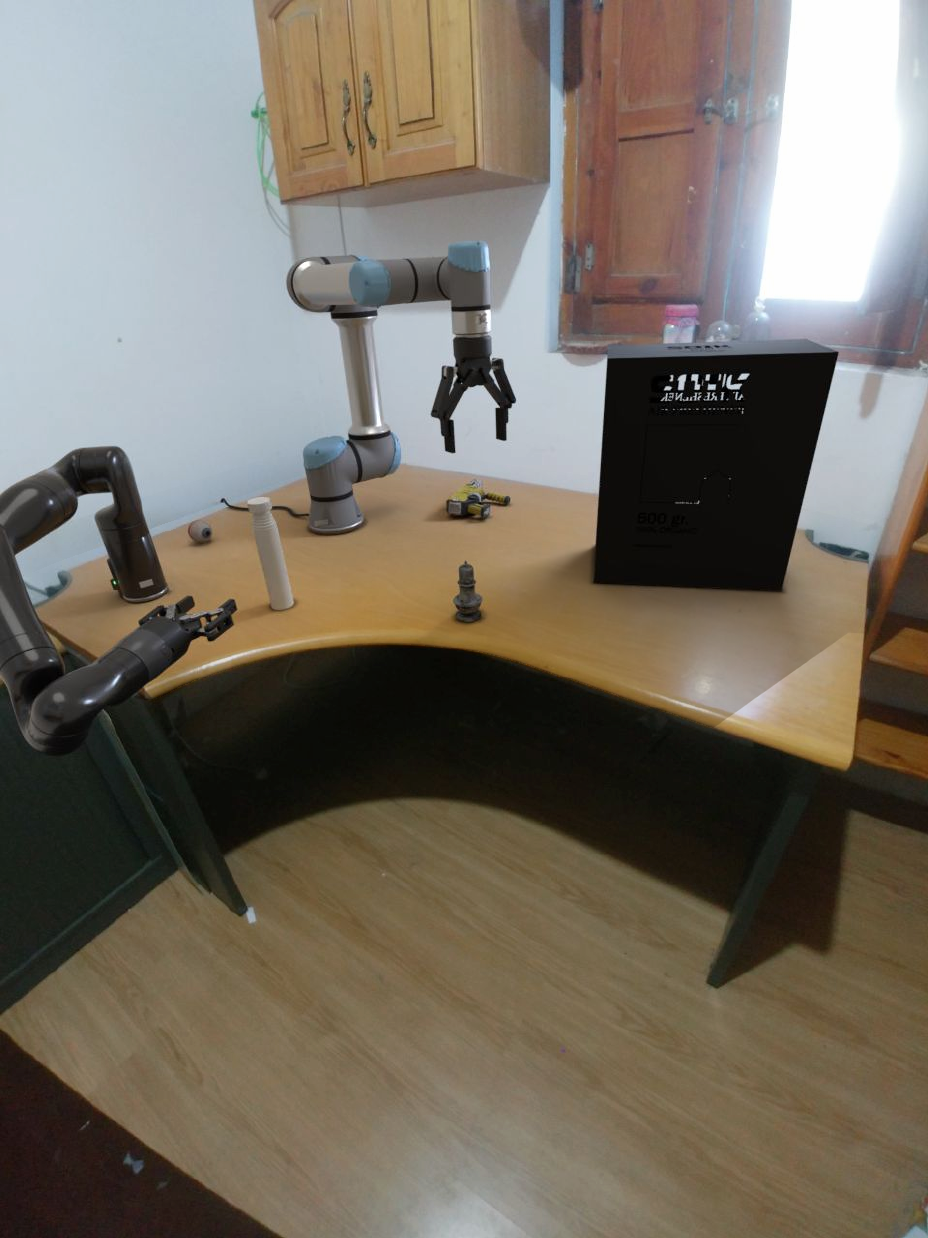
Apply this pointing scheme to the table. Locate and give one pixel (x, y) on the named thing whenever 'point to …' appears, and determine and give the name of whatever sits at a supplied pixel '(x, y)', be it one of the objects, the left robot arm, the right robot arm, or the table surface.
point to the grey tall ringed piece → (467, 595)
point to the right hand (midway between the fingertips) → (476, 445)
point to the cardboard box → (707, 461)
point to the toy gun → (473, 500)
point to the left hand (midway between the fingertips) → (213, 601)
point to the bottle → (272, 560)
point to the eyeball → (200, 531)
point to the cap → (259, 505)
